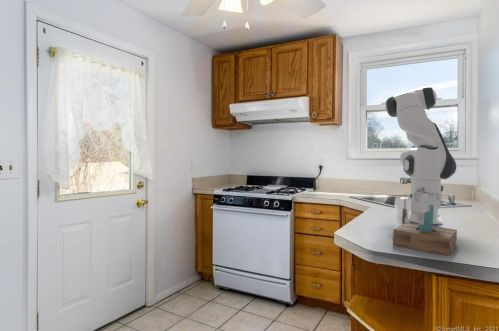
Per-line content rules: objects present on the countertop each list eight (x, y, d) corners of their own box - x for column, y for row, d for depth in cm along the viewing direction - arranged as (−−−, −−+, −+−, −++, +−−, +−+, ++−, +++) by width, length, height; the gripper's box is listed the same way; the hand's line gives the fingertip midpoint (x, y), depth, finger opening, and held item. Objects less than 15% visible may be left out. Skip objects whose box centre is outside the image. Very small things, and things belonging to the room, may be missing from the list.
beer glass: (390, 228, 142) (391, 197, 142) (401, 228, 145) (403, 196, 144) (402, 232, 136) (404, 199, 135) (414, 231, 138) (415, 198, 138)
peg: (417, 233, 119) (419, 203, 118) (429, 234, 118) (430, 203, 117) (420, 236, 115) (421, 204, 115) (432, 237, 114) (433, 205, 113)
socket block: (405, 236, 129) (406, 222, 129) (456, 245, 117) (456, 229, 117) (392, 245, 116) (393, 229, 115) (448, 256, 104) (449, 238, 104)
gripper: (425, 189, 107) (423, 228, 107) (445, 186, 120) (443, 221, 120) (406, 187, 111) (405, 225, 112) (427, 185, 125) (426, 218, 125)
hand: (425, 223), depth 116 cm, fingers closed on peg, 5 cm apart
